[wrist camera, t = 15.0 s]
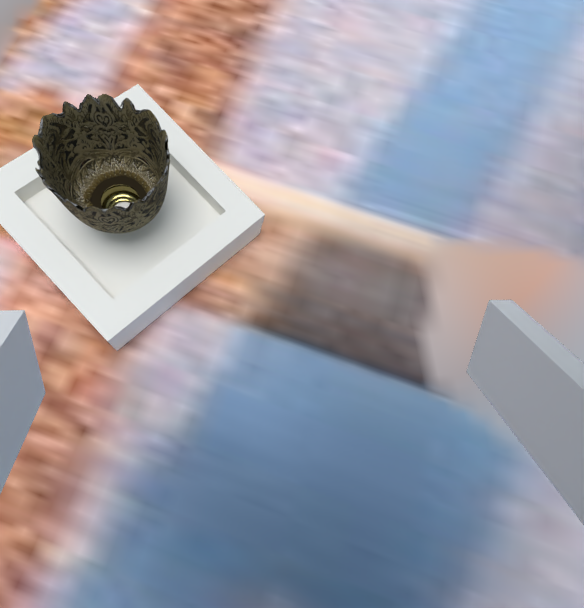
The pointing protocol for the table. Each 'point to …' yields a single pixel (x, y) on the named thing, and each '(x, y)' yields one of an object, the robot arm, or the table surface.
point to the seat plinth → (132, 235)
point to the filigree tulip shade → (105, 162)
